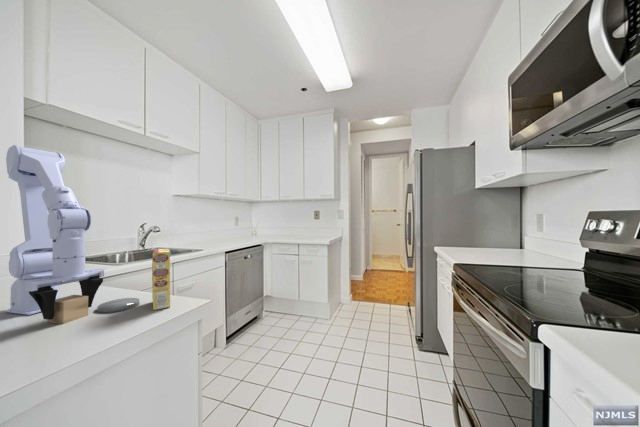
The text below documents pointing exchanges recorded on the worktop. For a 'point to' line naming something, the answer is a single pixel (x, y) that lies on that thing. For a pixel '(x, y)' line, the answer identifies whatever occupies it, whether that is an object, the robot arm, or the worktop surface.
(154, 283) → the candy box
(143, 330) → the worktop surface
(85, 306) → the oak cube
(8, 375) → the worktop surface
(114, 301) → the slate coaster
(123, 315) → the worktop surface
